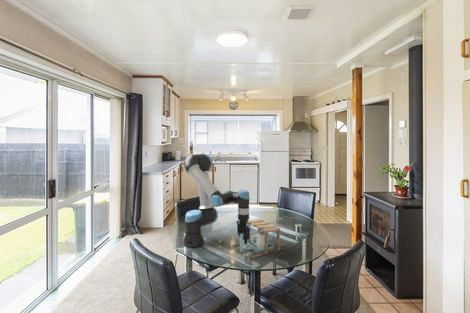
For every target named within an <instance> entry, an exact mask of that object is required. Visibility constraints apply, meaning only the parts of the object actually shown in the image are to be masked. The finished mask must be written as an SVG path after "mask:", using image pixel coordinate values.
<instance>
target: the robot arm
mask: <svg viewBox="0 0 470 313" xmlns="http://www.w3.org/2000/svg"><path fill="white" fill-rule="evenodd" d="M212 166H213V159H212V157H211V156H210V155H209V154H207V153H201V154H190V155H188V156H187V157H186V158H185V159H184V162H183V167H184V170H185V171H186V173H187V174H188V175H189V176H192V177H193V179H194V180H195V181H196V183H197V184H198V195H199V196H198V197H199V202H200V203H199V207H198V209H192V210H188V211H187V212H186V213H185V216H184V217H185V218H184V221H185V222H184V223H185V231H184V232H185V233H184V237H183V239H182V245H183V246H184V247H186V248H198V247H201V246H203V245H204V243H205V239H204V235H203V233H202V229H203V227H206V226H209V225H212V224H214V223H216V222H217V220H218V217H219V214H218V210H217V208H218V207H223V206H226V205H229V204H237V220H236V225H237V226H236V227H237V231H236V232H237V235H238V237H239V238H240V234H241V233H243V235H244V239H243V249H245V248H248V247H247V239H249V240H250V230H251V226H252V225H248V221H250V214H249V213H250V191H249V190H247V189H246V190H245V189H239V190H238V191H237V192H236V191H232V190H226V191H225V192H224V193H222V192H221V191H220V190H219V189H218V188H217V187H216V185H215V184H214V183H213V182H212V181H211V179H210V177H209V175H210V174H209V173H210V172H211V168H212Z"/></svg>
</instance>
